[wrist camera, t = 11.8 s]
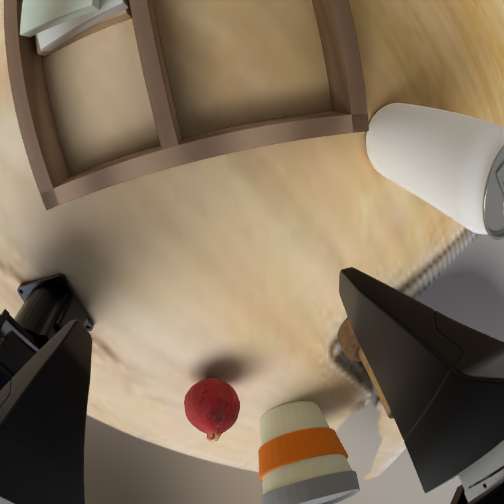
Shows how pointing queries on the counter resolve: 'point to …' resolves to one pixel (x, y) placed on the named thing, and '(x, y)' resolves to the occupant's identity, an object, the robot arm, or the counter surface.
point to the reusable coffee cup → (302, 458)
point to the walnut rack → (156, 78)
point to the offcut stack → (68, 20)
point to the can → (443, 162)
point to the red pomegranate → (212, 407)
